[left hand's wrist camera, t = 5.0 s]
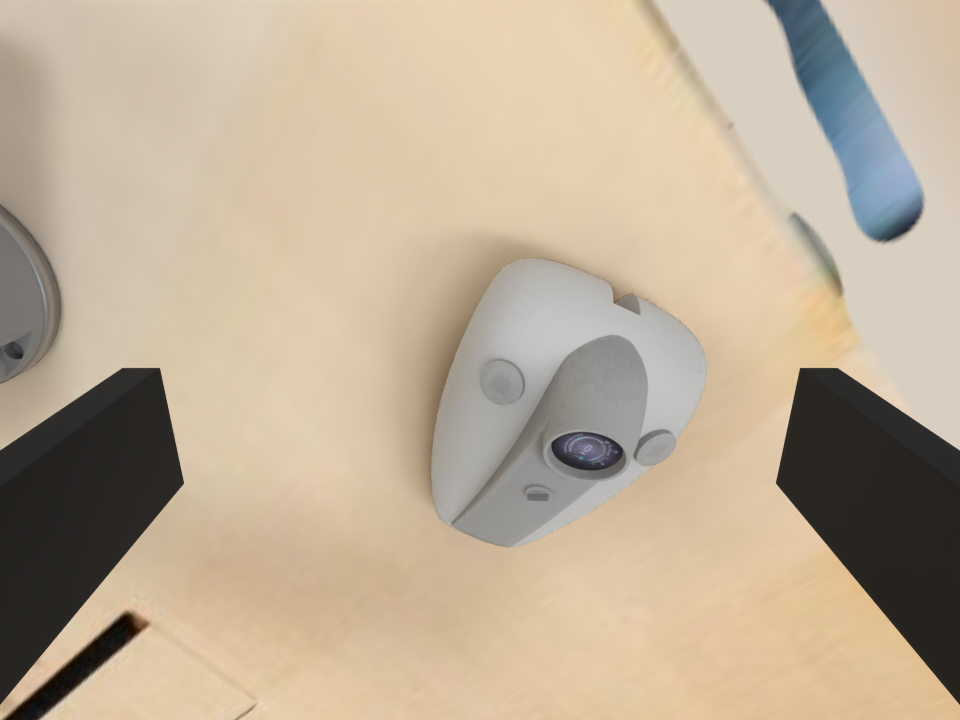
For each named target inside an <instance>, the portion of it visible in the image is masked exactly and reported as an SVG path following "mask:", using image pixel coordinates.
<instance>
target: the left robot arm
mask: <svg viewBox="0 0 960 720" xmlns="http://www.w3.org/2000/svg"><path fill="white" fill-rule="evenodd" d="M59 317H60V302H59V294H58V289H57V285H56V282H55V278H54V275H53V273H52V270H51V268H50V265H49V263H48V261H47V260H46V258H45V256H44V254H43V252H42V251H41V249H40V248H39V246H38V244H37V243H36V242H35V240H34V239H33V238H32V236H31V235H30V234H29V233H28V232H27V230H26V229H25V228H24V227H23V226H22V225H21V224H20V223H19V222H18V221H17V220H16V219H15V218H14V217H13V216H12V215H11V214H9V213H8V212H7V211H6V210H5V209H3V208H2V207H1V206H0V383H3V382H5V381H7V380H9V379H11V378H13V377H15V376H17V375H19V374H21V373H23V372H25V371H26V370H28V369H29V368H31V367H32V366H34V365H35V364H36V363H37V362H39V361H40V360H41V359H42V357H43V356H44V355H45V354H46V353H47V351H48V350H49V348H50V347H51V345H52V343H53V341H54V338H55V336H56V333H57V329H58V325H59ZM183 484H184V481H183V476H182V471H181V466H180V462H179V457H178V452H177V447H176V443H175V438H174V433H173V428H172V424H171V419H170V414H169V409H168V404H167V400H166V395H165V390H164V385H163V381H162V376H161V371H160V368H122V369H120V370H119V371H118V372H116V373H115V374H113V375H112V376H110V377H109V378H107V379H106V380H104V381H103V382H101V383H100V384H98V385H97V386H95V387H94V388H92V389H91V390H89V391H88V392H86V393H85V394H83V395H82V396H80V397H79V398H77V399H76V400H75V401H73V402H72V403H70V404H69V405H67V406H66V407H64V408H63V409H61V410H60V411H58V412H57V413H55V414H54V415H52V416H51V417H49V418H48V419H46V420H45V421H43V422H42V423H40V424H39V425H37V426H36V427H34V428H33V429H32V430H30V431H29V432H27V433H26V434H24V435H23V436H21V437H20V438H18V439H17V440H15V441H14V442H12V443H11V444H9V445H8V446H6V447H5V448H3V449H2V450H0V704H1V703H2V702H3V701H4V700H5V698H6V697H7V696H8V695H9V694H10V692H11V691H12V690H13V689H14V687H15V686H16V685H17V684H18V683H19V681H20V680H21V679H22V678H23V677H24V675H25V674H26V673H27V672H28V671H29V669H30V668H31V667H32V666H33V665H34V663H35V662H36V661H37V660H38V659H39V657H40V656H41V655H42V654H43V653H44V651H45V650H46V649H47V648H48V647H49V645H50V644H51V643H52V642H53V641H54V639H55V638H56V637H57V636H58V635H59V633H60V632H61V631H62V630H63V628H64V627H65V626H66V625H67V624H68V622H69V621H70V620H71V619H72V618H73V616H74V615H75V614H76V613H77V612H78V610H79V609H80V608H81V607H82V606H83V604H84V603H85V602H86V601H87V600H88V598H89V597H90V596H91V595H92V594H93V592H94V591H95V590H96V589H97V588H98V586H99V585H100V584H101V583H102V582H103V580H104V579H105V578H106V577H107V576H108V574H109V573H110V572H111V571H112V569H113V568H114V567H115V566H116V565H117V563H118V562H119V561H120V560H121V559H122V557H123V556H124V555H125V554H126V553H127V551H128V550H129V549H130V548H131V547H132V545H133V544H134V543H135V542H136V541H137V539H138V538H139V537H140V536H141V535H142V533H143V532H144V531H145V530H146V529H147V527H148V526H149V525H150V524H151V523H152V521H153V520H154V519H155V518H156V517H157V515H158V514H159V513H160V512H161V510H162V509H163V508H164V507H165V506H166V504H167V503H168V502H169V501H170V500H171V498H172V497H173V496H174V495H175V494H176V492H177V491H178V490H179V489H180V488H181V486H182V485H183ZM776 484H777V485H778V486H779V488H780V489H781V490H782V491H783V492H784V494H785V495H786V496H787V497H788V498H789V500H790V501H791V502H792V503H793V504H794V506H795V507H796V508H797V509H798V511H799V512H800V513H801V514H802V515H803V517H804V518H805V519H806V520H807V521H808V523H809V524H810V525H811V526H812V527H813V529H814V530H815V531H816V532H817V533H818V535H819V536H820V537H821V538H822V539H823V541H824V542H825V543H826V544H827V545H828V547H829V548H830V549H831V550H832V551H833V553H834V554H835V555H836V556H837V557H838V559H839V560H840V561H841V562H842V563H843V565H844V566H845V567H846V568H847V569H848V571H849V572H850V573H851V574H852V576H853V577H854V578H855V579H856V580H857V582H858V583H859V584H860V585H861V586H862V588H863V589H864V590H865V591H866V592H867V594H868V595H869V596H870V597H871V598H872V600H873V601H874V602H875V603H876V604H877V606H878V607H879V608H880V609H881V610H882V612H883V613H884V614H885V615H886V616H887V618H888V619H889V620H890V621H891V622H892V624H893V625H894V626H895V627H896V628H897V630H898V631H899V632H900V633H901V635H902V636H903V637H904V638H905V639H906V641H907V642H908V643H909V644H910V645H911V647H912V648H913V649H914V650H915V651H916V653H917V654H918V655H919V656H920V657H921V659H922V660H923V661H924V662H925V663H926V665H927V666H928V667H929V668H930V669H931V671H932V672H933V673H934V674H935V675H936V677H937V678H938V679H939V680H940V681H941V683H942V684H943V685H944V686H945V687H946V689H947V690H948V691H949V692H950V694H951V695H952V696H953V697H954V698H955V700H956V701H957V702H958V703H959V704H960V450H958V449H957V448H955V447H954V446H952V445H951V444H949V443H948V442H946V441H945V440H943V439H942V438H940V437H939V436H937V435H936V434H934V433H933V432H931V431H930V430H928V429H927V428H926V427H924V426H923V425H921V424H920V423H918V422H917V421H915V420H914V419H912V418H911V417H909V416H908V415H906V414H905V413H903V412H902V411H900V410H899V409H897V408H896V407H894V406H893V405H891V404H890V403H888V402H887V401H885V400H884V399H883V398H881V397H880V396H878V395H877V394H875V393H874V392H872V391H871V390H869V389H868V388H866V387H865V386H863V385H862V384H860V383H859V382H857V381H856V380H854V379H853V378H851V377H850V376H848V375H847V374H845V373H844V372H842V371H841V370H840V369H838V368H800V371H799V376H798V381H797V385H796V390H795V395H794V400H793V404H792V409H791V414H790V419H789V424H788V428H787V433H786V438H785V443H784V447H783V452H782V457H781V462H780V466H779V471H778V476H777V481H776Z"/></svg>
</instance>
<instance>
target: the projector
mask: <svg viewBox="0 0 960 720" xmlns="http://www.w3.org/2000/svg"><path fill="white" fill-rule="evenodd" d="M706 374H707V362H706V356H705V353H704V350H703V348H702V346H701V344H700V342H699V341H698V339H697V337H696V336H695V335H694V334H693V333H692V331H691V330H690V329H689V328H688V327H687V326H685V325H684V324H683V323H682V322H681V321H679V320H678V319H677V318H676V317H674V316H673V315H671V314H669V313H668V312H666V311H664V310H663V309H661V308H659V307H658V306H656V305H654V304H652V303H650V302H648V301H646V300H644V299H642V298H640V297H638V296H636V295H634V294H628V295H626V296H624V297H623V298H621V299H620V300H619V301H618V302H617V303H616V304H614V303H613V292H612V288H611V286H610V284H609V283H608V282H606V281H604V280H602V279H600V278H598V277H595V276H593V275H591V274H588V273H586V272H584V271H581V270H579V269H576V268H573V267H571V266H568V265H565V264H562V263H558V262H555V261H551V260H546V259H539V258H525V259H519V260H515V261H513V262H511V263H509V264H507V265H506V266H505V267H503V268H502V269H501V270H500V272H499V273H498V274H497V275H496V276H495V277H494V279H493V280H492V282H491V283H490V285H489V286H488V288H487V290H486V291H485V293H484V295H483V296H482V298H481V300H480V302H479V304H478V306H477V308H476V310H475V312H474V314H473V316H472V318H471V320H470V322H469V324H468V326H467V329H466V331H465V333H464V335H463V338H462V340H461V343H460V345H459V347H458V350H457V352H456V355H455V358H454V360H453V363H452V366H451V368H450V371H449V374H448V377H447V381H446V384H445V387H444V390H443V394H442V398H441V402H440V405H439V409H438V413H437V419H436V424H435V430H434V438H433V447H432V462H431V483H432V495H433V502H434V506H435V510H436V513H437V515H438V517H439V518H440V519H441V520H442V521H443V522H444V523H446V524H447V525H449V526H450V527H452V528H454V529H456V530H458V531H460V532H463V533H465V534H468V535H470V536H472V537H474V538H477V539H479V540H482V541H484V542H487V543H491V544H494V545H498V546H503V547H518V546H522V545H525V544H527V543H530V542H533V541H535V540H537V539H539V538H542V537H544V536H546V535H548V534H550V533H552V532H554V531H556V530H558V529H560V528H562V527H564V526H565V525H567V524H569V523H571V522H573V521H575V520H577V519H578V518H580V517H582V516H584V515H585V514H587V513H589V512H590V511H592V510H594V509H595V508H597V507H598V506H600V505H602V504H603V503H605V502H606V501H608V500H609V499H611V498H612V497H614V496H615V495H616V494H618V493H619V492H621V491H622V490H624V489H625V488H626V487H628V486H629V485H630V484H631V483H633V482H634V481H635V480H636V479H638V478H639V477H640V476H641V475H642V474H644V473H645V472H646V471H647V470H648V469H649V468H650V467H651V466H652V465H656V464H658V463H660V462H661V461H663V460H665V459H666V458H667V457H668V456H669V455H670V454H671V453H672V451H673V450H674V448H675V446H676V439H677V438H678V437H679V435H680V434H681V433H682V431H683V430H684V428H685V427H686V425H687V424H688V422H689V420H690V419H691V417H692V415H693V414H694V412H695V410H696V407H697V405H698V403H699V401H700V398H701V396H702V392H703V389H704V386H705V381H706Z"/></svg>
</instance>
